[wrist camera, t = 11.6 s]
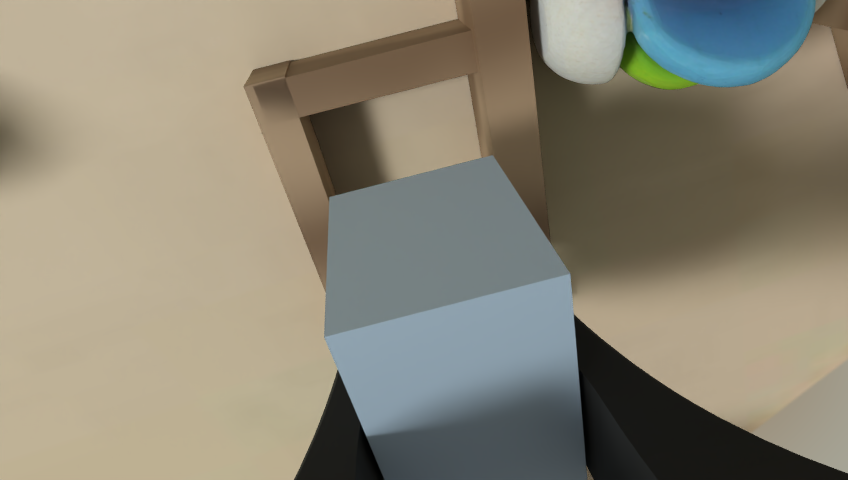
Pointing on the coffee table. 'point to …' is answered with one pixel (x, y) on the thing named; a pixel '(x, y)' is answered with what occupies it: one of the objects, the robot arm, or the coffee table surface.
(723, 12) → the rainbow fan toy
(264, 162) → the coffee table surface
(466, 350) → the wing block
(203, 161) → the coffee table surface
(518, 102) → the frame
